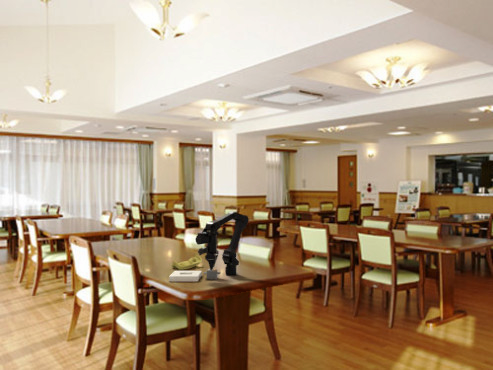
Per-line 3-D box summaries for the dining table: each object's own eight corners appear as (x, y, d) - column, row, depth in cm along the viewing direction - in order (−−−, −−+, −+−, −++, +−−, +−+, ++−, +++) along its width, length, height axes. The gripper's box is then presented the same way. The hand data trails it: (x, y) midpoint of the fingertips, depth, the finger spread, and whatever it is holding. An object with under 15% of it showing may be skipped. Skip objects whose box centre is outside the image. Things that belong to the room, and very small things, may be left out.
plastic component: (181, 267, 276) (172, 259, 282) (178, 276, 279) (170, 268, 285) (204, 261, 290) (196, 253, 296) (202, 270, 292) (193, 262, 299)
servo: (220, 277, 255) (220, 268, 255) (220, 279, 251) (219, 269, 251) (204, 277, 255) (204, 268, 255) (203, 279, 251) (203, 269, 251)
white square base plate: (201, 275, 261) (201, 270, 261) (197, 281, 245) (197, 276, 245) (174, 275, 262) (174, 270, 262) (169, 281, 246) (169, 276, 246)
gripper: (200, 240, 263) (201, 265, 263) (196, 245, 244) (196, 271, 244) (218, 240, 262) (218, 265, 262) (215, 245, 243) (215, 271, 244)
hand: (212, 268), depth 253 cm, fingers open, 9 cm apart
